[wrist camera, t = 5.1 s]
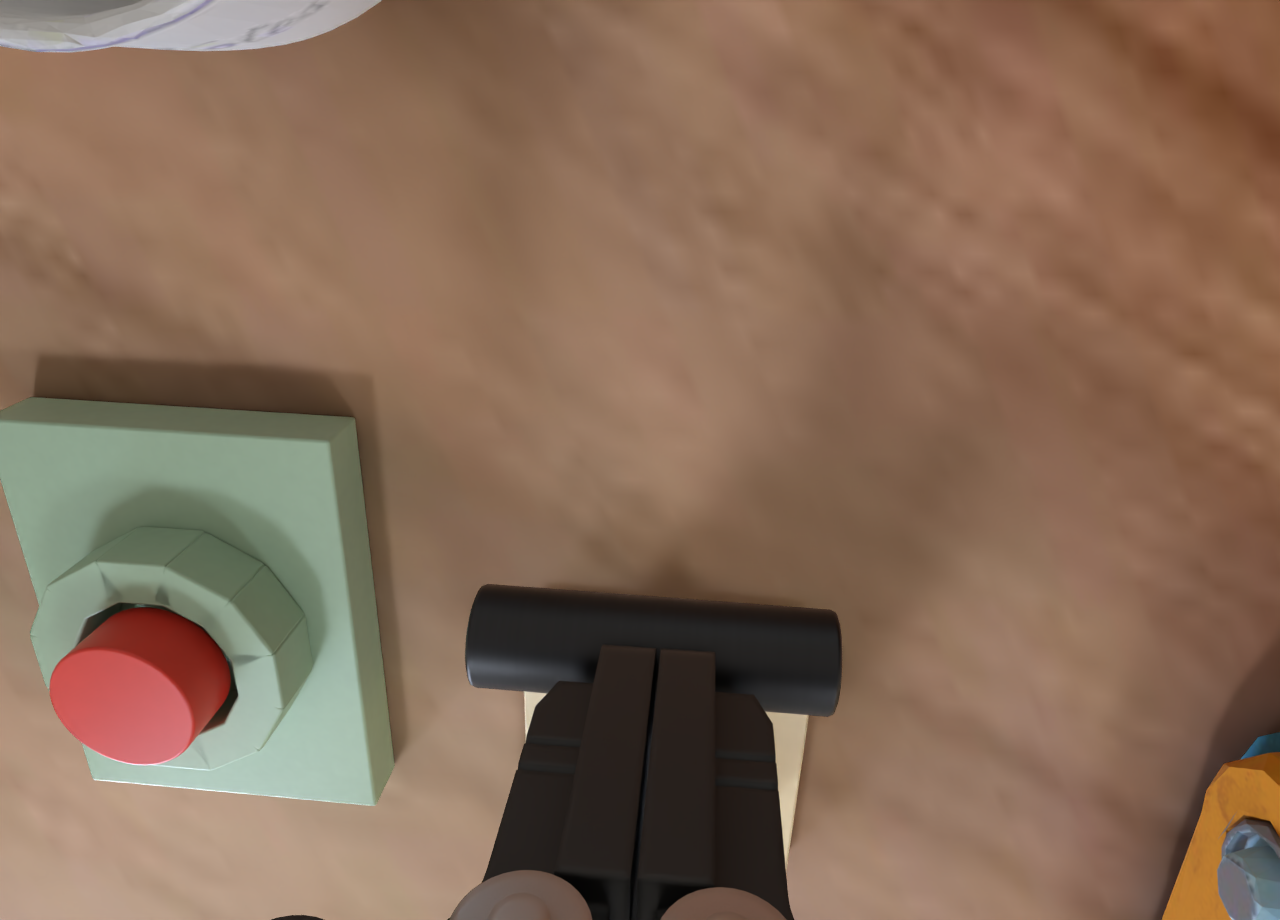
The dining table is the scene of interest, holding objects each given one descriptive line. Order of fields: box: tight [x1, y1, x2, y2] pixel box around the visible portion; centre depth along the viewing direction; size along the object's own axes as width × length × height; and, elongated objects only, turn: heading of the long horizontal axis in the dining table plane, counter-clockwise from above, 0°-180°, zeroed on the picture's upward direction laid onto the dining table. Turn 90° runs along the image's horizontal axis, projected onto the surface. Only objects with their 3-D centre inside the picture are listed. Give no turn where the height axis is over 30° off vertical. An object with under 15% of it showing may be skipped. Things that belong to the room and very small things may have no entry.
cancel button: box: [49, 607, 231, 765], centre depth 21 cm, size 4×4×2 cm
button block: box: [0, 397, 395, 806], centre depth 23 cm, size 12×9×4 cm
